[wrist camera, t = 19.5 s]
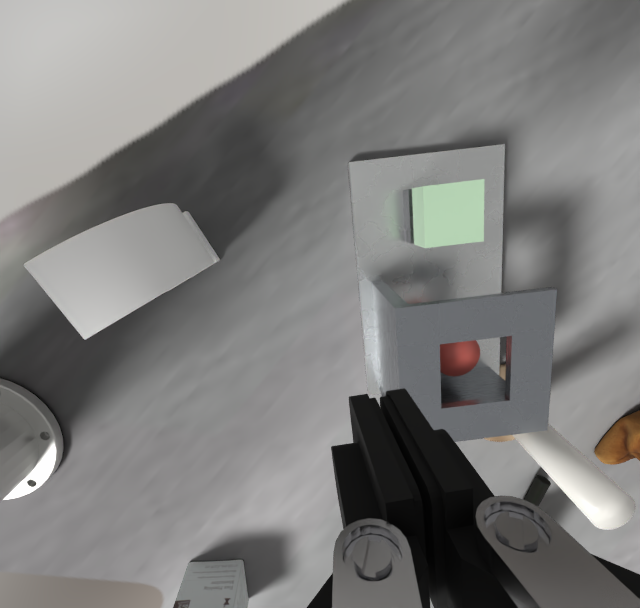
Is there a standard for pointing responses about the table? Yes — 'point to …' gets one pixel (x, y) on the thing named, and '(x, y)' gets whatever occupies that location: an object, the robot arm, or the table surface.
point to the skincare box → (213, 585)
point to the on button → (448, 213)
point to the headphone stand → (121, 265)
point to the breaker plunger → (459, 357)
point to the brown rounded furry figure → (621, 441)
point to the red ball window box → (447, 301)
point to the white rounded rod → (579, 478)
